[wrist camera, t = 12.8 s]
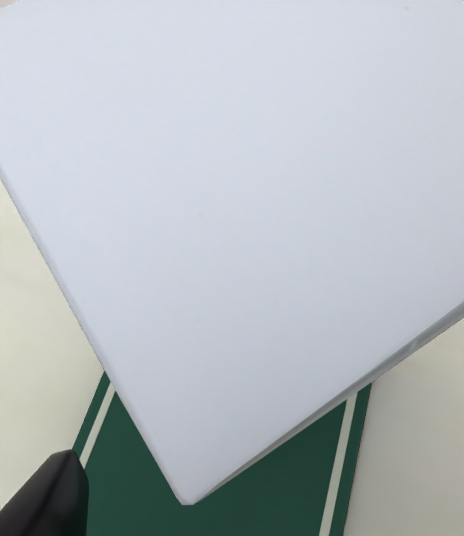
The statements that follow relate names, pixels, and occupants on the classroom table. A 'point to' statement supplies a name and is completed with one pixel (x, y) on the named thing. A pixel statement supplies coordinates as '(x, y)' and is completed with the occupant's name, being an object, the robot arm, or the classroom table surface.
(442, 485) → the classroom table surface
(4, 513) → the robot arm
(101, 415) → the green mat
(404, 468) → the classroom table surface
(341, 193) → the white packaging box
